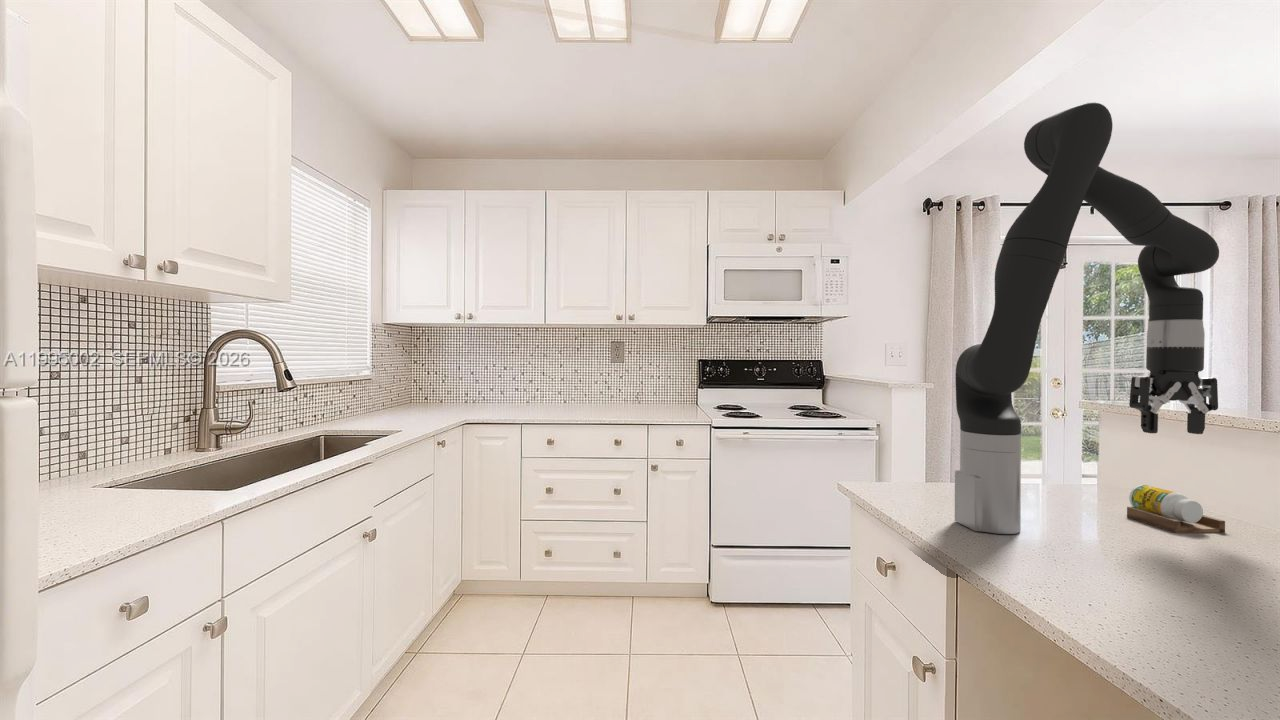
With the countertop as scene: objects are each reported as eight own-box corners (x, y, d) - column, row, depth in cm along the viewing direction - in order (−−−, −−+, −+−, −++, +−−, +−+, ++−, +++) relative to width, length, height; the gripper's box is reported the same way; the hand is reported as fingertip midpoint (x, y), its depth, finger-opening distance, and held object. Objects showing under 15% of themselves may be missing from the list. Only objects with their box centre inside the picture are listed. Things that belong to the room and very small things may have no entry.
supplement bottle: (1149, 515, 104) (1200, 531, 94) (1123, 505, 104) (1172, 521, 94) (1159, 489, 104) (1211, 503, 94) (1133, 479, 104) (1183, 493, 94)
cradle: (1174, 532, 93) (1174, 521, 93) (1126, 517, 102) (1127, 506, 102) (1225, 532, 94) (1225, 520, 94) (1172, 516, 103) (1173, 506, 103)
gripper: (1157, 344, 94) (1154, 436, 94) (1235, 345, 94) (1233, 436, 94) (1118, 345, 102) (1116, 430, 102) (1190, 346, 102) (1188, 430, 102)
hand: (1172, 433), depth 98 cm, fingers open, 8 cm apart
